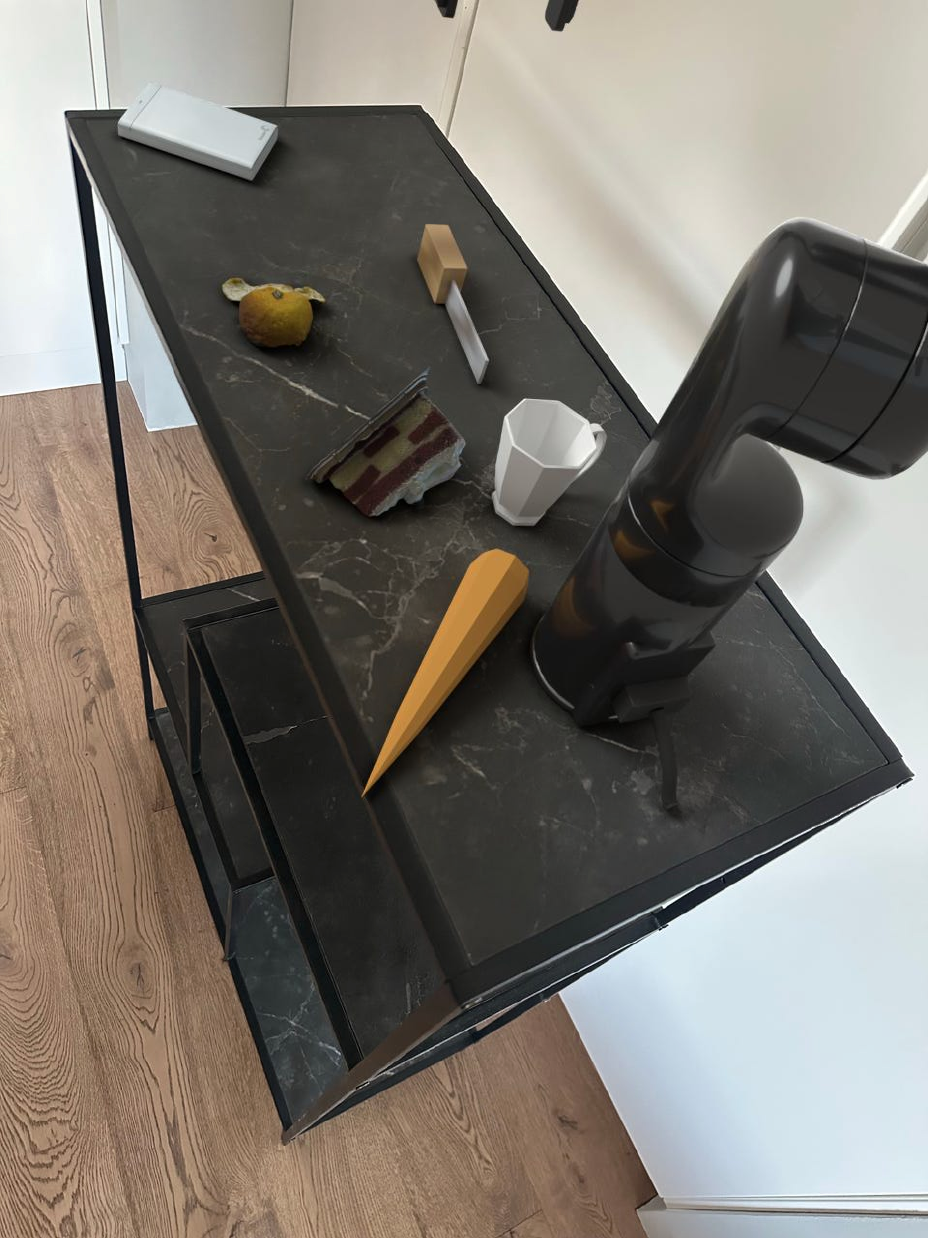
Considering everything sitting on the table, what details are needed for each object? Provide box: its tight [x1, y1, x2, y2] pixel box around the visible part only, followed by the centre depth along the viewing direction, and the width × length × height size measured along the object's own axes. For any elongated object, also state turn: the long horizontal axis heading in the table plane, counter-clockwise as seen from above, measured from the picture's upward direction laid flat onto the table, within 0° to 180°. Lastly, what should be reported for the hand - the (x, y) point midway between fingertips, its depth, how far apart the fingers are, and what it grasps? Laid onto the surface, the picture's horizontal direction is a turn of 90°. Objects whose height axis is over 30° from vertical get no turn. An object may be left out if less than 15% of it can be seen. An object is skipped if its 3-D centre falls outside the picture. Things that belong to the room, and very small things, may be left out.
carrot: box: [361, 548, 530, 798], centre depth 59 cm, size 20×4×4 cm
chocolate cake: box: [305, 365, 466, 517], centre depth 67 cm, size 10×7×12 cm
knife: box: [416, 223, 490, 385], centre depth 78 cm, size 16×2×4 cm, turn 18°
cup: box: [491, 398, 608, 527], centre depth 67 cm, size 7×10×8 cm
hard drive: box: [117, 81, 279, 181], centre depth 84 cm, size 2×8×12 cm
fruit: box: [221, 277, 326, 348], centre depth 73 cm, size 8×8×4 cm
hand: (499, 18), depth 65 cm, fingers open, 8 cm apart
